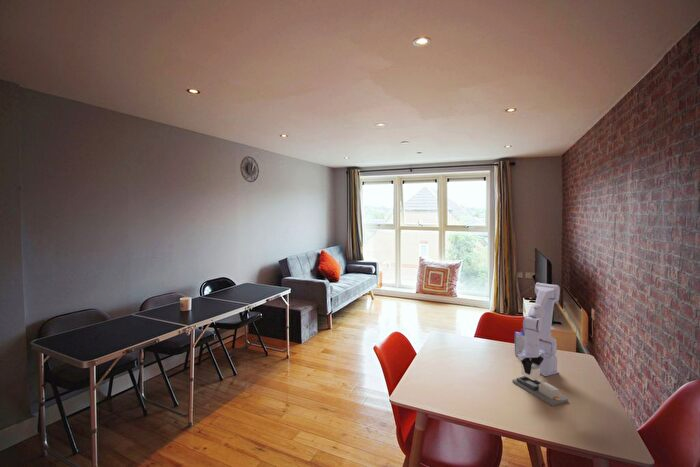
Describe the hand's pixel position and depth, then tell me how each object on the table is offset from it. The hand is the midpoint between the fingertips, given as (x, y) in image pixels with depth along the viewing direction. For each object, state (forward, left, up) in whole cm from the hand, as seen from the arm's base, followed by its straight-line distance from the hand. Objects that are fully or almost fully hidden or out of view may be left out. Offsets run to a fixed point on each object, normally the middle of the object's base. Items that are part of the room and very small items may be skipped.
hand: (531, 372), depth 143 cm
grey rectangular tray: (0, +4, -7) cm, 8 cm away
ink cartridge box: (-25, -25, -7) cm, 36 cm away
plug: (0, 0, -2) cm, 2 cm away
